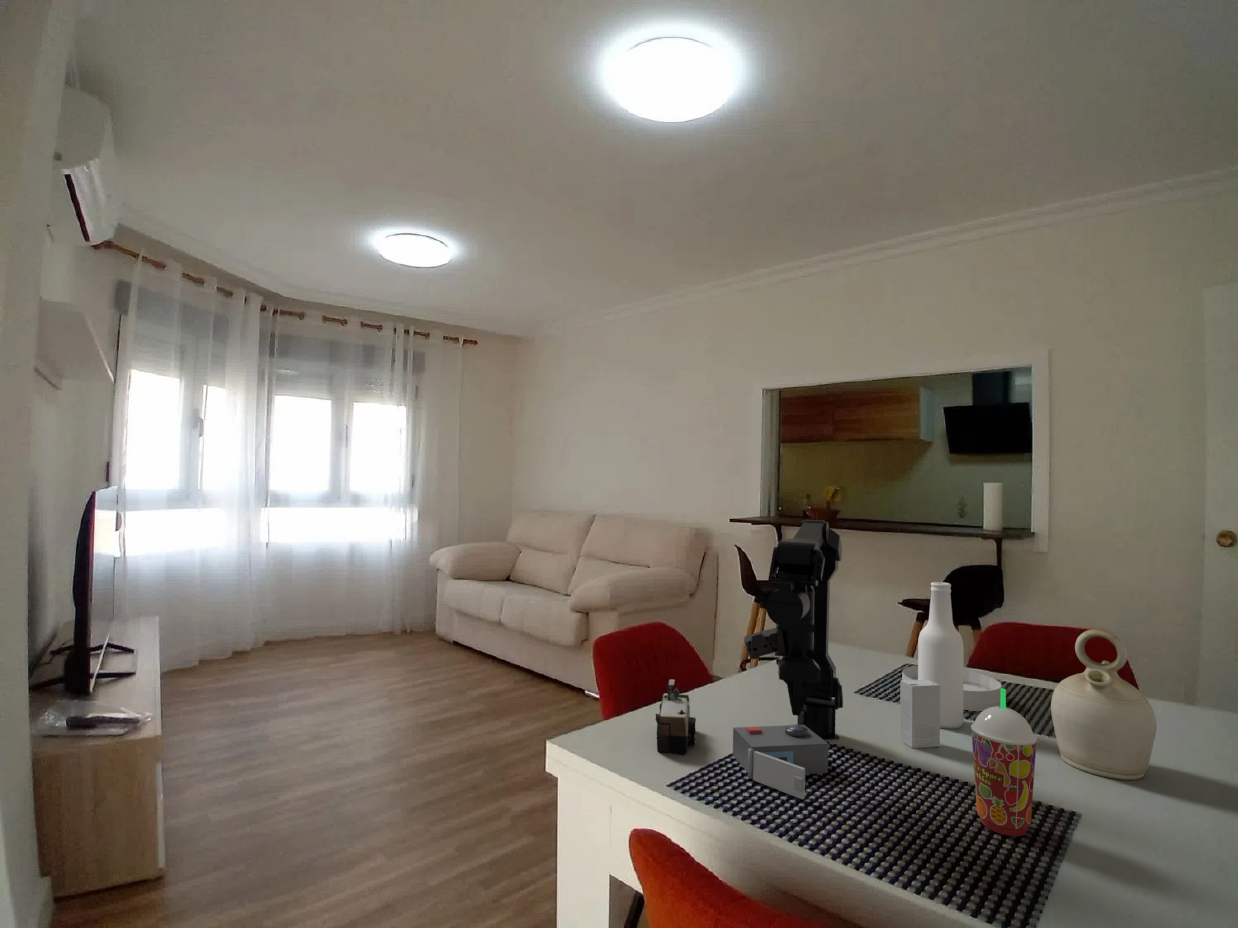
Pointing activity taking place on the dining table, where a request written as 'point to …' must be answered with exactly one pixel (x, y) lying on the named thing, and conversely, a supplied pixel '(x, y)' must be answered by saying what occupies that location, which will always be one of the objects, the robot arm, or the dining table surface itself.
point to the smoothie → (1004, 769)
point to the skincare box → (920, 713)
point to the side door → (776, 773)
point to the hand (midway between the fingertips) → (794, 710)
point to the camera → (675, 723)
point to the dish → (970, 689)
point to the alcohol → (943, 656)
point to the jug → (1103, 717)
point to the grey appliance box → (783, 746)
